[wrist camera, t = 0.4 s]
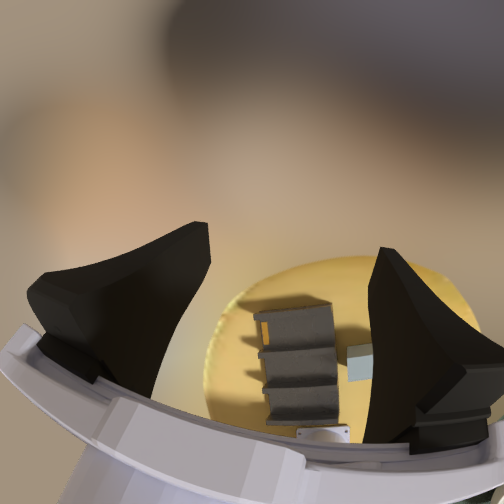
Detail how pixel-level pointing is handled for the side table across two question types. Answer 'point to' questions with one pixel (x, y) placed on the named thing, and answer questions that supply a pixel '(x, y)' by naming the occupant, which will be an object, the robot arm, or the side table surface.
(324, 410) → the rack
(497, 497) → the cereal bowl
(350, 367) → the light grey rectangular block
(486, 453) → the robot arm
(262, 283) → the side table surface
